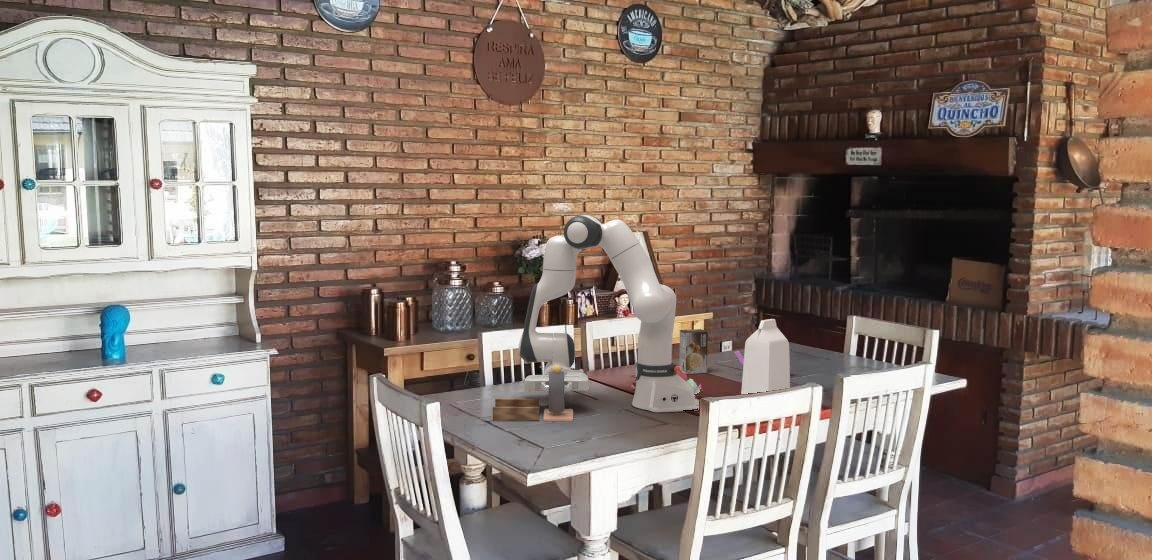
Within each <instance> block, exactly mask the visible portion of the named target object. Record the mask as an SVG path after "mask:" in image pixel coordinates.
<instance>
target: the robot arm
mask: <svg viewBox="0 0 1152 560" xmlns="http://www.w3.org/2000/svg"><path fill="white" fill-rule="evenodd" d="M564 225H565V226H564V228H563V235H555V236H552V237H550V238H549V239H548V240H547V241H546V245H545V247H544V253H543V260H542V262H543V263H542V274H541V277H540V280H539V282H537V283H535V284H534V285H533V286H532V289H531V293H530V296H529V301H528V305H527V310H526V314H525V315H526V316H525V320H524V327H523V332H522V335H521V337H520V339H519V343H518V354H519V357H520V358H521V360H524V362H526V363H528V364H529V363H531V364H532V363H539V362H541V363H546V365H545V366H544V371H543V374H532V375H531V374H529V375H528V376H526V377H525V379H524V390H525V391H527V392H529V391H530V392H531V391H532V392H533V391H534V392H536V391H537V392H541V391H543V392H546V393H547V392H548V393H549V372H551V371H552V366H554V365H559V366H561V371H562V372H564V393H566V392H575V391H576V392H587V391H589V384H590V383H589V382H590V381H589V377H588V375H587V374H586V373H585V372H584V370H583V369H582V368H576V367H575V368H573V365H574V364H575V359H576V358H575V357H576V350H575V348H576V347H575V341H574V338H572V336H571V335H570V334H569V333H568V332H567V333H565V332H537V331H536V328H537V323H538V317H539V314H540V309H541V307H542V306H544V304H546V303H547V302H549V301H552V300H555V299H557V298H561V297H563V296H565V295H567V294H568V293H570V292H571V291H572V290H573V288H574V287H575V285H576V280H577V259H578V256H579V253H580V252H582V251H586V250H590V249H593V248H596V247H600V248H602V250H603V251H604V252H605V253H606V255H607V256H608V258H609V260H610V262H611V264H612V265H613V267H614V269H615V270H616V273H617V274H618V276H619V277H620V279H621V281H622V283H623V286H624V288H625V291H626V293H627V297H628V299H629V300H630V303H631V305H632V308H633V313H634V315H635V317H636V318H637V319H638V320H640V327H639V328H640V329H639V333H638V337H637V361H636V362H635V364H636V365H635V380H636V379H637V381H636V389H635V391H634V394H633V398H632V402H631V405H632V406H633V407H635V408H637V409H640V410H647V411H650V412H652V413H670V412H671V413H672V412H673V413H674V412H684V411H683V410H692V409H697V408H698V410H697V411H700V410H699V401H700V400H699V399H698V398H696V396H695V395H694V390H693V388H692V386H691V385H690V384H689V383H688V382H686V381H685V380H684V379H683V378H682V377H680V376H679V375H678V374H677V373H679V372H680V365H677V364H676V363H675V362H673V361H672V360H673V353H672V352H673V336H674V335H673V334H674V328H675V327H674V326H675V320H676V311H677V310H676V309H677V295H676V293H675V292H674V290H673V289H672V288H671V287H670V286H668V285H664V284H661V283H660V282H659V280H658V277H657V275H656V272H655V269H654V266H653V263H652V261H651V259H650V258H649V256H648V254H647V253H646V251H645V249H644V248H643V246H642V244H641V243H640V241H639V239H638V238H637V236H636V235H635V233H634V232H633V231H632V229H631V228H630V227H629V225H627V224H626V222H625V221H623V220H621V219H612V220H610V221H607V222H605V223H603V221H602V220H601V219H599V218H598V217H595V216H592V215H588V214H580V215H575V216H573V217H571V218H570V219H568V221H567V222H566V223H565V224H564Z"/></svg>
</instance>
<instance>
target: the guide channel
mask: <svg viewBox="0 0 1152 560" xmlns="http://www.w3.org/2000/svg"><path fill="white" fill-rule="evenodd" d="M540 401H541V400H540V398H495V399H494V406H492V421H503V422H504V421H508V420H509V421H517V422H518V421H523V422H524V421H525V422H526V421H530V422H531V421H534V422H535V421H537V422H538V421H540V420H539V419H540V412H541V411H540V407H541V406H540V405H541V403H540Z"/></svg>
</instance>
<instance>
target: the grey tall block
mask: <svg viewBox="0 0 1152 560" xmlns="http://www.w3.org/2000/svg"><path fill="white" fill-rule="evenodd" d="M548 409H549V411H550V412H555V413H558V412H563V411H564V409H565V392H564V372H562V371H561V366H559V365H554V366H552V371H551V372H549V392H548Z"/></svg>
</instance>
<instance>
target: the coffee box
mask: <svg viewBox="0 0 1152 560" xmlns="http://www.w3.org/2000/svg"><path fill="white" fill-rule="evenodd" d="M708 333H709V332H708V331H706V330H704V329H702V328H697V329H696V328H695V329H693V328H692V329H679V367H680V370H681V371H682V372H683V373H685V374H686V375H691V374H692V375H693V374H707V373H708V346H709V345H708V344H709V343H708V338H709V337H708V335H709V334H708Z"/></svg>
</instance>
